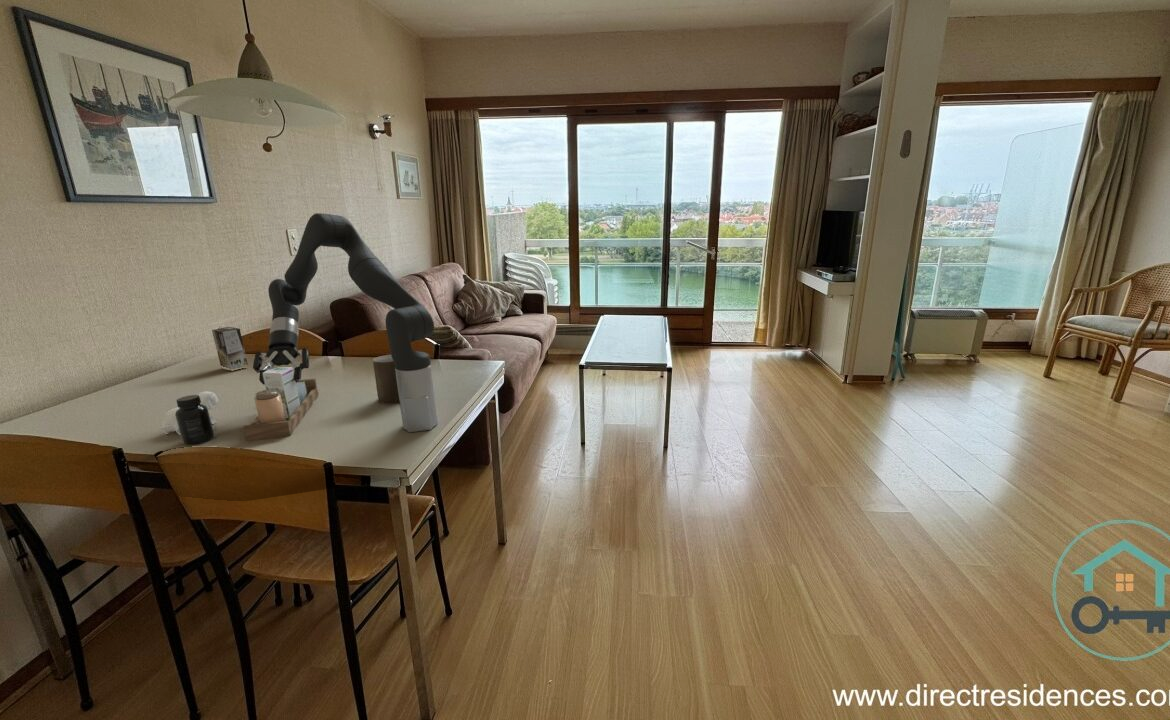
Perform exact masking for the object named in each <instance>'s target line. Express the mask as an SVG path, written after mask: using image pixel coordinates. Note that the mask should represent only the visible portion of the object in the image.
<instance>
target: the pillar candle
mask: <svg viewBox="0 0 1170 720" xmlns="http://www.w3.org/2000/svg"><path fill="white" fill-rule="evenodd" d="M372 365H373V372H374V379H375V385H376V387H375V388H376V392H377V393H376V395H377V399H378V402H379V403H381V404H386V405H387V404H388V405H389V404H391V405H392V404H398V403H399V404H400V401H399V394H398V386H397V379H396V371H395V365H394V361H393V359H392V356H391V354H386V355H385V354H384V355H381V356H377V357H373V359H372Z"/></svg>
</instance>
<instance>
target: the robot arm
mask: <svg viewBox="0 0 1170 720" xmlns="http://www.w3.org/2000/svg"><path fill="white" fill-rule="evenodd" d="M321 246H322V247H329V248H339V249H342V250H343V251H344V252H345V253H346V254H347V255H348V257H349V258H348V263H347V272H348V275H349V277H350V278H351V280H352V281H353V282H354V284H355V285H356V286H357V287H358V288H359V290H360V291H361V292H362V293H363V294H365V295H366V296H368V297H369V298H372V299H373V300H376V301H378V302H380V303H383V304H384V305H387V306H389V307H391V308H392V309H390V310H389V311H388V312H387V313H386V316H385V330H386V336H387V340H388V345H389V350H390V355H391V356H392V359H393V361H394V365H395V371H396V379H397V386H398V394H399V401H400V402H399V407H400V414H401V421H402V427H403V430H405V431H407V433H413V432H422V431H423V432H424V431H431V430H432V429H433V428H434V427H435V426H436V425H438V414H437V406H436V398H435V389H434V387H435V386H434V382H433V381H434V380H433V373H432V372H433V371H432V363H431V362H432V361H431V356H430V354H429V353H427V352H424V351H418V350H413V346H412V343H413V342H416V341H420V340H424V339H427V338H430V337H431V336H432V335H433V334H434V332H435V331H434V330H435V324H434V323H435V322H434V319H433V317H432V315H431V313H430V312H429V310H428V309H427V308H426V307H425V306H424V305H423V304H422V303H421V302H420V301H419V300H418V299H417V298H415V297H414V296H413V295H412V294H411V293H410V292H409V291H408V290H407V289H406V288H405V287H404V286H403V285H402V284H401V283H400V282H399V281H398V280H397V279H396V277H395V276H394V275H392V274H393V273H391V272H390V271H389V269H388V268H387V267H386V266H385V264H384V263H383V262H382V261H381V260H380V259H379V258H378V257H377V256H376V255H375V254H374V252H373V251H372V250H371V249H370V247H369V246H368V245H367V244H366V243H365V241H364V240H363V239H362V236H361V235H360V234H359V232H358V231H357V229H356V228H355V226H354V225H353V224H352V223H351V221H350V220H349V219H348V218H346V216H341V215H338V214H329V213H320V212H318V213H314V214H312V215H311V216H310V217H309V219H308V221H307V222H306V225H305V228H304V230H303V234H302V237H301V240H300V242H299V245H298V249H297V251H296V255H295V257H294V258H293V261H292V262H291V264H289V267H288V268H287V270H286V271H285V273H284V279H281V278H276V279H273V280H272V281H270V284H269V285H268V297H269V300H270V304H271V308H272V317H271V318H272V319H271V324H270V328H269V329H270V330H269V337H268V350H267V351H266V352H260V351H256V352H255V356H254V360H253V364H252V365H253V366H252V369H253V370H254V371H255V372H256V373H258V374H259V377H258V378H259V379H258V380H259V382H260V383H261V384H262V385H264V386H265V383H264V378H263V372H265V371H267V370H269V369H271V368H275V367H282V366H289V365H290V364H291V365H292V366H293V367H294V369H293V372H294V380H295V381H296V382H298V381H299V380H302V379H301V378H302V371H303V370H304V369H309V368H310V356H309V355H310V353H309V351H308V349H307V348H306V347H303V348H302V349H298V345H299V343H298V342H299V335H300V334H299V317H300V312H299V309H298V308H297V307H296V306H300V305H302V304H304V302H305V301H306V297H307V293H308V292H307V291H308V288H309V284H310V283H311V281H312V280H313V278H314V277H315V276H316V274H317V272H318V261H317V258H316V254H315V252H316V251H317V250H318V248H320V247H321ZM299 355H300V356H301V362H300V363H299V362H298V360H296V358H297V357H298V356H299ZM266 358H267V359H266ZM263 361H264V362H263Z"/></svg>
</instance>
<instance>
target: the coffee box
mask: <svg viewBox="0 0 1170 720" xmlns="http://www.w3.org/2000/svg"><path fill="white" fill-rule="evenodd" d="M211 333H212V337H213V341H214V345H215V350H216V352H217V357H218V360H219V364H220V367H221V366H223V367H226V368H229V369H235V368H240V367H245V366H248V367H249V363H248V358H247V355H246V350H245V346H244V342H243V337H242V333H241V328H237V327H232V326H224V327H221V328H220V327H219V328H217V329H211Z"/></svg>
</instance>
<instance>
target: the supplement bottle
mask: <svg viewBox="0 0 1170 720" xmlns="http://www.w3.org/2000/svg"><path fill="white" fill-rule="evenodd" d="M175 402H176V404H177V407H179V409H178V410H177V411H176V413H175V416H176V420H177V423H178V426H179V430H180V433H181V436H180V438H181V440H182V443H183V442H184V445H187V444H190V445H191V446H192V445H197V444H202V443H201V442H203V443H206V442H208V441H210V440H212V439H213V438H215V431H214V426H213V424H212V423H211V419H210V417H211V416H210V412H209V410H208V408H207V407H206V406H205V405H203V404H200V403H201V400H200V397H199V395H197V394H192V395H191V394H190V395H185V396H182V397H180V398H177V399H176V401H175ZM205 441H206V442H205Z"/></svg>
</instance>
